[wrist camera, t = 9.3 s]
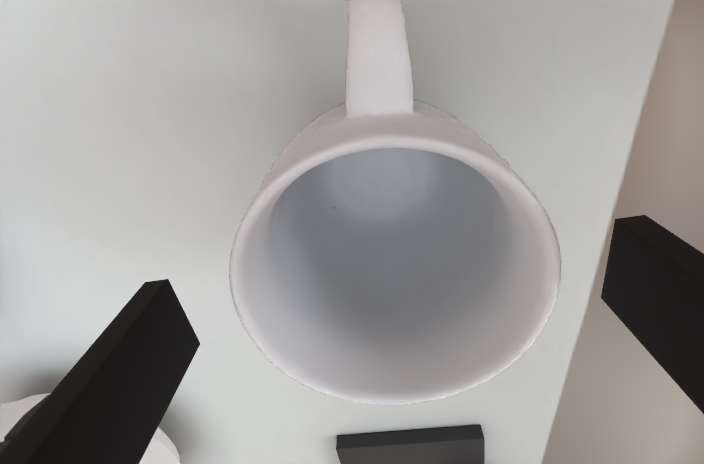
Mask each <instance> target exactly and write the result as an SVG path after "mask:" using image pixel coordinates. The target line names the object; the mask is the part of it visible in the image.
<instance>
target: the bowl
mask: <svg viewBox="0 0 704 464" xmlns="http://www.w3.org/2000/svg"><path fill="white" fill-rule="evenodd" d="M50 394H51V393H46V394H39V395H32V396H30V397H27V398H24V399H21V400H18V401H15V402H8V403H4V404H1V405H0V442H3V441H4V437H5V436H6V435H7V433H8V432H9V431H10V430H11V429H12V428H13V427H14V425H15V424H16V423H17V422H18V421H19V420H20V419H21V417H22V416H23V415H24V414H25V413H27V412H28V411H29V410H30V409H31V408H33V407H34V406H35V405H36V404H37V403H39V402H40V401H41V400H42V399H44V398H45V397H46V396H47V395H50ZM139 464H180V456H179V454H178V452H177V449H176V447H175V445H174V444H173V443H172V441H171V440H170V439H169V438H168V436H167V435H166V434H165V433H164V432H163V430H162V429H161V428H160V427H159V426H158V428H157V430H156V432H155V434H154V435H153V437H152V439H151V441H150V443H149V445H148V447H147V449H146V451H145V453H144V455H143V457H142V459H141V461H140V463H139Z"/></svg>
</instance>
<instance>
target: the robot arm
mask: <svg viewBox="0 0 704 464" xmlns="http://www.w3.org/2000/svg"><path fill="white" fill-rule="evenodd" d="M601 298H602V299H603V301H604V302H605V303H606V304H607V305H608V306H609V307H610V309H611V310H612V311H613V312H614V313H615V314H616V315H617V316H618V318H619V319H620V320H621V321H622V322H623V323H624V324H625V325H626V327H627V328H628V329H629V330H630V331H631V332H632V333H633V335H634V336H635V337H636V338H637V339H638V340H639V341H640V342H641V344H642V345H643V346H644V347H645V348H646V349H647V350H648V351H649V353H650V354H651V355H652V356H653V357H654V358H655V359H656V361H657V362H658V363H659V364H660V365H661V366H662V367H663V368H664V370H665V371H666V372H667V373H668V374H669V375H670V376H671V378H672V379H673V380H674V381H675V382H676V383H677V384H678V385H679V386H680V388H681V389H682V390H683V391H684V392H685V393H686V395H687V396H688V397H689V398H690V399H691V400H692V401H693V402H694V404H695V405H696V406H697V407H698V408H699V409H700V410H701V411H702V413H703V414H704V254H703V253H701V252H700V251H698V250H697V249H695V248H694V247H692V246H691V245H689V244H688V243H686V242H684V241H683V240H682V239H680V238H679V237H677V236H675V235H674V234H673V233H671V232H670V231H668V230H667V229H665V228H664V227H662V226H661V225H659V224H658V223H656V222H655V221H653V220H652V219H650V218H649V217H647V216H646V215H642V216H634V217H627V218H619V219H615V223H614V229H613V234H612V240H611V245H610V251H609V256H608V262H607V267H606V273H605V279H604V284H603V289H602V295H601ZM199 345H200V342H199V340H198V338H197V336H196V334H195V332H194V330H193V328H192V326H191V324H190V322H189V320H188V318H187V316H186V314H185V312H184V310H183V308H182V306H181V304H180V302H179V300H178V298H177V296H176V294H175V292H174V290H173V288H172V286H171V284H170V282H169V280H168V279H166V280H159V281H151V282H145V283H144V284H143V285H142V287H141V288H140V289H139V290H138V291H137V293H136V294H135V295H134V296H133V297H132V298H131V300H130V301H129V302H128V303H127V304H126V305H125V307H124V308H123V309H122V310H121V311H120V313H119V314H118V315H117V316H116V317H115V318H114V320H113V321H112V322H111V323H110V324H109V326H108V327H107V328H106V329H105V330H104V331H103V333H102V334H101V335H100V336H99V337H98V339H97V340H96V341H95V342H94V343H93V344H92V346H91V347H90V348H89V349H88V350H87V352H86V353H85V354H84V355H83V356H82V357H81V359H80V360H79V361H78V362H77V363H76V365H75V366H74V367H73V368H72V369H71V370H70V372H69V373H68V374H67V375H66V376H65V378H64V379H63V380H62V381H61V382H60V383H59V385H58V386H57V387H56V388H55V389H54V391H53V392H52V393H51V394H50V395H47V396H46V397H45V398H44V399H42V400H41V401H40V402H39V403H37V404H36V405H35V406H34V407H33V408H31V409H30V410H29V411H28V412H27V413H25V414H24V415H23V416H22V417H21V419H20V420H19V421H18V422H17V423H16V424H15V425H14V427H13V428H12V429H11V430H10V431H9V432H8V433H7V435H6V436H5V437H4V441H3V442H0V464H139V463H140V461H141V459H142V457H143V455H144V453H145V451H146V449H147V447H148V445H149V443H150V441H151V439H152V437H153V435H154V434H155V432H156V430H157V428H158V426H159V424H160V422H161V420H162V418H163V416H164V414H165V412H166V410H167V408H168V406H169V404H170V402H171V400H172V398H173V396H174V394H175V392H176V390H177V388H178V386H179V384H180V382H181V380H182V378H183V377H184V375H185V373H186V371H187V369H188V367H189V365H190V363H191V361H192V359H193V357H194V355H195V353H196V351H197V349H198V347H199Z"/></svg>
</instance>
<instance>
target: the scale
mask: <svg viewBox="0 0 704 464" xmlns="http://www.w3.org/2000/svg"><path fill="white" fill-rule="evenodd" d="M336 450H337V453H338V456H339V459H340V462H341V464H484V436H483V432H482V429H481V426H480V425H472V426H459V427H446V428H433V429H420V430H406V431H393V432H380V433H367V434H354V435H340V436H337V445H336Z"/></svg>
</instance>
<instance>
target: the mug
mask: <svg viewBox="0 0 704 464" xmlns="http://www.w3.org/2000/svg"><path fill="white" fill-rule="evenodd" d="M347 14H348V24H349V36H348V58H347V72H346V103H343V104H342V105H340V106H339V107H336V108H333V109H331V110H330V111H328V112H326V113H325V114H323V115H321V116H320V117H318V118H317V119H315V120H313V121H312V122H311V123H310V124H309V125H308V126H307V127H306V128H304V129H303V130H302V131H301V132H300V133H299V134H298V135H297V136H295V138H294V139H293V140H292V141H291V142H290V144H289V146H288V147H286V148H285V149H284V150H283V152H282V153H281V154H280V156H279V158H278V159H277V160H276V161H275V162H274V163H273V165H272V168H271V169H270V172H269V173H268V174H267V175H266V177H265V178H264V180H263V182H262V185H261V187H260V189H259V191H258V192H257V194H256V195H255V197H254V198H253V201H252V202H251V204H250V206H249V207H248V209H247V211H246V213H245V215H244V217H243V218H242V220H241V223H240V225H239V228H238V230H237V233H236V236H235V239H234V243H233V247H232V251H231V256H230V267H229V278H230V289H231V294H232V299H233V303H234V306H235V309H236V312H237V314H238V316H239V318H240V321H241V323H242V325H243V327H244V328H245V330H246V332H247V333H248V335H249V337H250V338H251V339H252V341H253V342H254V344H255V345H256V346H257V347H258V348H259V350H260V351H261V352H262V353H263V354H264V355H265V357H266V358H267V359H269V360H270V361H271V362H272V363H273V364H274V365H275V366H276V367H277V368H278V369H280V370H281V371H282V372H283V373H285V374H287V375H288V376H290V377H291V378H293V379H294V380H296V381H298V382H299V383H301V384H303V385H305V386H307V387H309V388H311V389H313V390H316V391H318V392H321V393H323V394H326V395H329V396H333V397H336V398H339V399H343V400H348V401H353V402H358V403H367V404H376V405H395V404H413V403H420V402H426V401H431V400H437V399H441V398H445V397H448V396H452V395H455V394H458V393H461V392H464V391H466V390H469V389H471V388H472V387H475V386H477V385H480V384H482V383H484V382H486V381H487V380H489V379H491V378H492V377H494V376H495V375H497V374H498V373H500V372H501V371H503V370H504V369H506V368H507V367H509V366H510V365H511V364H512V363H514V362H515V361H516V360H517V359H518V358H519V357H520V356H521V355H522V354H523V353H524V352H525V351H526V350H527V349H528V348H529V347H530V345H531V344H532V343H533V342H534V341H535V339H536V338H537V336H538V335H539V333H540V332H541V331H542V329H543V327H544V325H545V324H546V322H547V320H548V318H549V316H550V314H551V313H552V310H553V307H554V304H555V302H556V299H557V295H558V291H559V286H560V280H561V255H560V247H559V243H558V239H557V236H556V233H555V230H554V227H553V225H552V223H551V221H550V219H549V217H548V215H547V213H546V211H545V209H544V208H543V206H542V205H541V203H540V202H539V200H538V199H537V197H536V196H535V195H534V193H533V192H532V191H531V190H530V189H529V188H528V187H527V185H526V184H525V183H524V182H523V181H522V180H521V179H520V177H519V176H518V175H517V174H516V173H515V172H514V171H513V170H512V169H511V167H510V165H509V163H508V162H507V161H506V160H504V159H503V158H501V157H500V156H498V154H497V153H496V151H495V149H493V147H492V146H491V145H489V144H487V143H486V142H484V141H483V139H482V138H481V137H480V135H478V134H476V132H474V131H472V130H471V129H470V128H469V127H467V125H466V124H464V123H462V122H460V121H458V120H457V119H456V118H455V117H453V116H452V115H450V114H447V113H444V112H443V111H442V110H440V109H438V108H437V107H435V106H430V105H429V104H426V103H424V102H422V101H416V100H413V84H412V70H411V62H410V54H409V48H408V42H407V36H406V27H405V18H404V13H403V8H402V4H401V1H400V0H347Z"/></svg>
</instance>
